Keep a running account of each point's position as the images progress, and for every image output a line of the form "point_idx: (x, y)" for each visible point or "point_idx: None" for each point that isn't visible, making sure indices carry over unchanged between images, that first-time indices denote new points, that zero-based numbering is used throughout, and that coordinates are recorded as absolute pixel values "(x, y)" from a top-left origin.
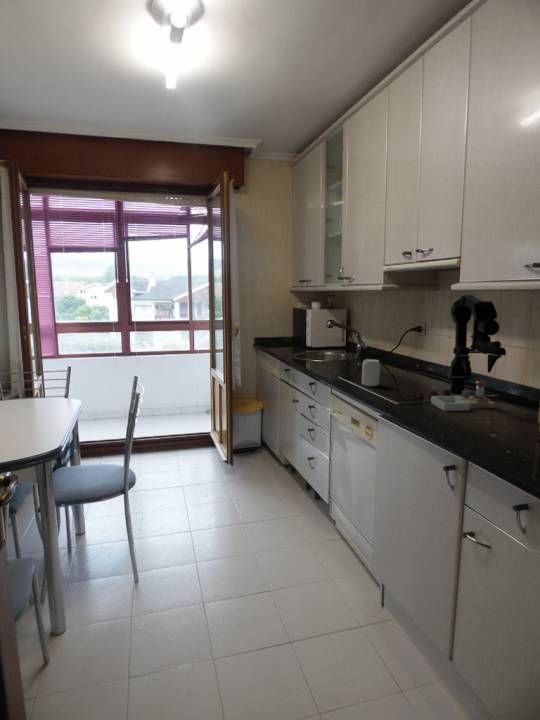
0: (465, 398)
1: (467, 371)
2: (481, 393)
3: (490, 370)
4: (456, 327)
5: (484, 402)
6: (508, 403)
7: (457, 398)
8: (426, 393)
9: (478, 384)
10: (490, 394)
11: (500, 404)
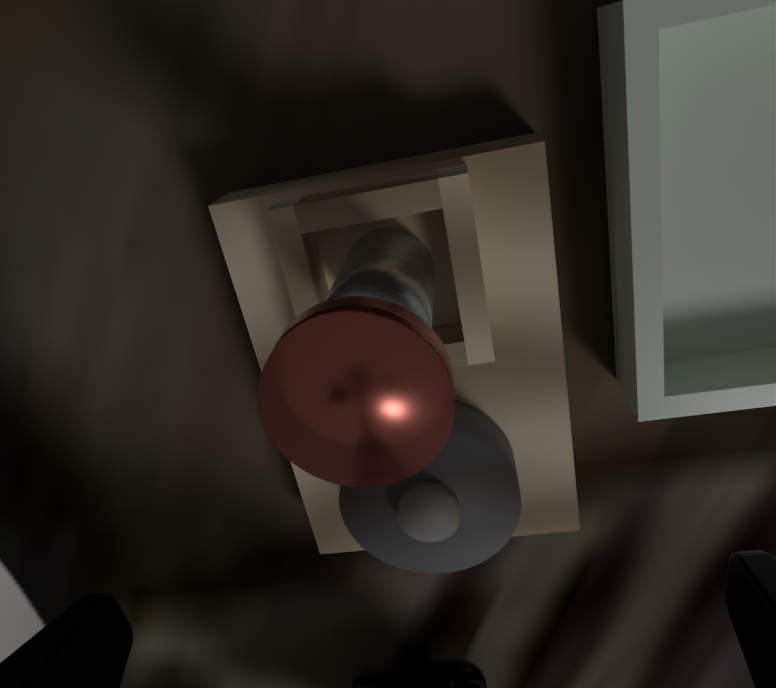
0: (508, 393)
1: (751, 571)
2: (369, 265)
3: (51, 635)
4: None
5: (346, 187)
6: (51, 409)
7: (662, 308)
8: (745, 672)
9: (423, 321)
10: (157, 669)
11: (135, 363)
